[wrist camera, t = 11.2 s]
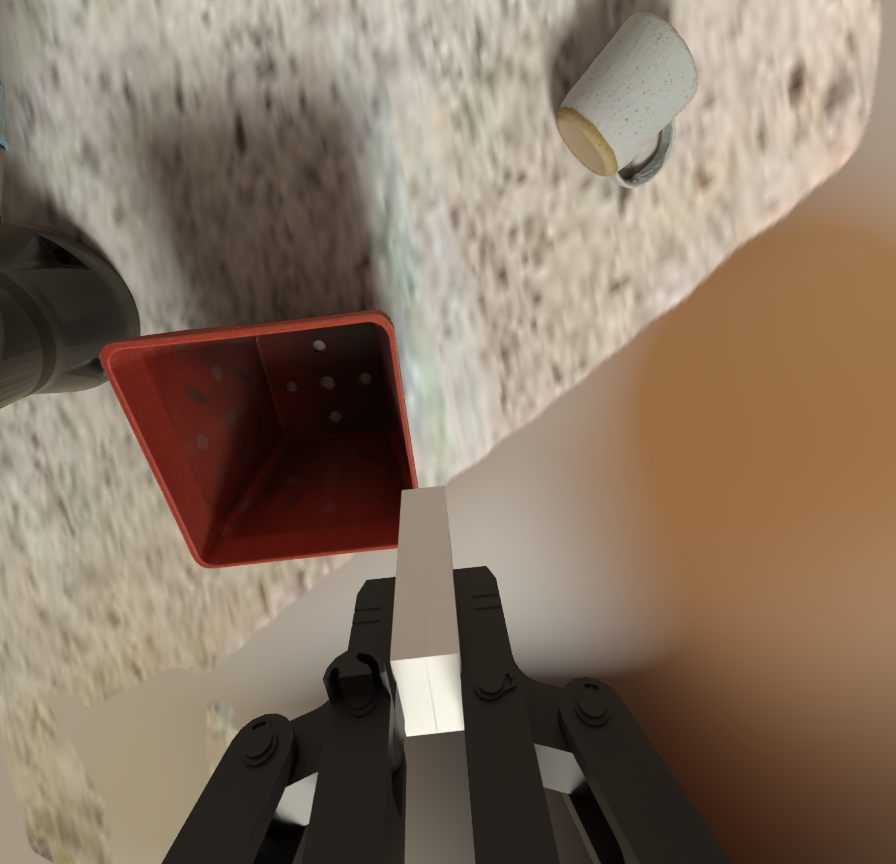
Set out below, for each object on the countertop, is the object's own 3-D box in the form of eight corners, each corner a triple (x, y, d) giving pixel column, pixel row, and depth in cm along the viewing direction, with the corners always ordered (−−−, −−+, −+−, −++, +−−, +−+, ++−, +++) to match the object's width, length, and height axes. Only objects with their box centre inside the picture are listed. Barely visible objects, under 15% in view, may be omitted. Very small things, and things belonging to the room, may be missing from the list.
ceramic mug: (539, 122, 38) (567, 102, 31) (611, 31, 35) (659, -13, 28) (615, 212, 41) (655, 212, 35) (685, 135, 39) (743, 119, 32)
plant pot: (263, 468, 51) (196, 573, 36) (207, 301, 43) (90, 345, 27) (425, 450, 51) (427, 546, 36) (401, 280, 43) (391, 311, 28)
